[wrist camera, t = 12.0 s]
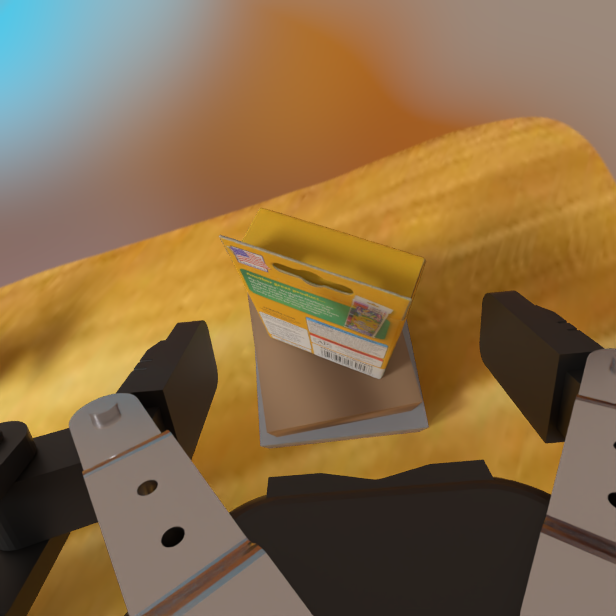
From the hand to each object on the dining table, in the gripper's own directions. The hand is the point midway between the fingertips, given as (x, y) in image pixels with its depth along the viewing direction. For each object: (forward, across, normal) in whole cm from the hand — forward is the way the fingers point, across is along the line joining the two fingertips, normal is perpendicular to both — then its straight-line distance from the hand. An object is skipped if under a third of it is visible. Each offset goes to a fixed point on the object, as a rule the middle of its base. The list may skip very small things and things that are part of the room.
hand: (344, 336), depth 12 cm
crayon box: (+12, 0, +6) cm, 13 cm away
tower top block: (+14, 0, +9) cm, 17 cm away
